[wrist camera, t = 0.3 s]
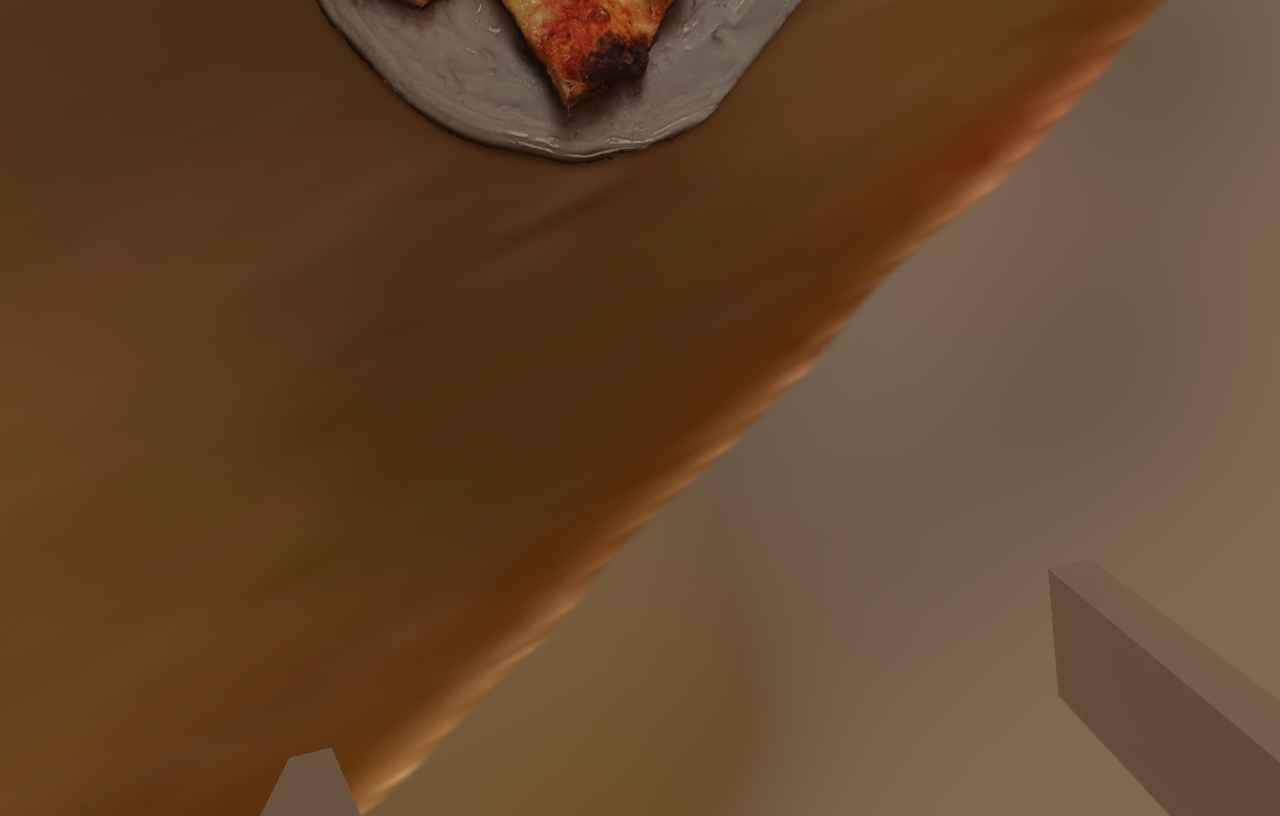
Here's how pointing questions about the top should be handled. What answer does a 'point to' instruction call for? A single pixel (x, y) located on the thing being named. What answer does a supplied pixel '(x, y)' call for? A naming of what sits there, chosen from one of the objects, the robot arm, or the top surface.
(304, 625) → the top surface
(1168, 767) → the robot arm
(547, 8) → the food plate
